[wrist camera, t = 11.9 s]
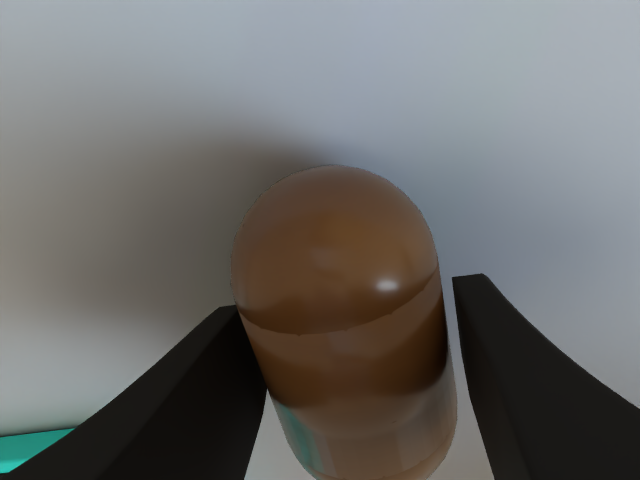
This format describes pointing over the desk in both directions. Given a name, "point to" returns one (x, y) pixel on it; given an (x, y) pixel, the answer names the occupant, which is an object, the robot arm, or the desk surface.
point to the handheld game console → (25, 447)
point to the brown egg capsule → (348, 324)
